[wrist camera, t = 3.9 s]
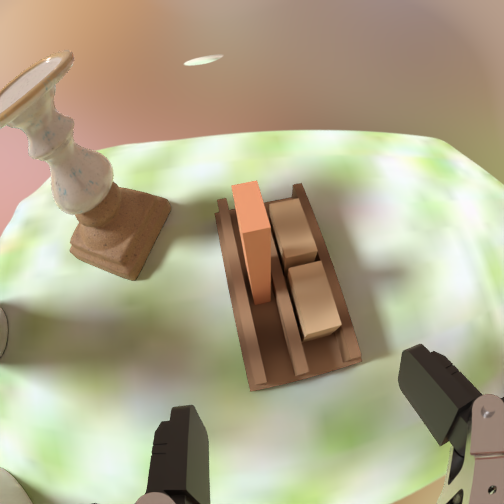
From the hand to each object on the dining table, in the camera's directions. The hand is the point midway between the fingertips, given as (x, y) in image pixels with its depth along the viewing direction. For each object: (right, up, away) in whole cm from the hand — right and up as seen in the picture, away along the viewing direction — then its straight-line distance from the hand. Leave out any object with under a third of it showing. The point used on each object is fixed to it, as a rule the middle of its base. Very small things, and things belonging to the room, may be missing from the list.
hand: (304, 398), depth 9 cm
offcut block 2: (+4, 0, +19) cm, 19 cm away
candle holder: (-19, +8, +26) cm, 33 cm away
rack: (+2, +2, +21) cm, 22 cm away
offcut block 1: (+2, +6, +22) cm, 22 cm away
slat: (-1, +2, +20) cm, 20 cm away
